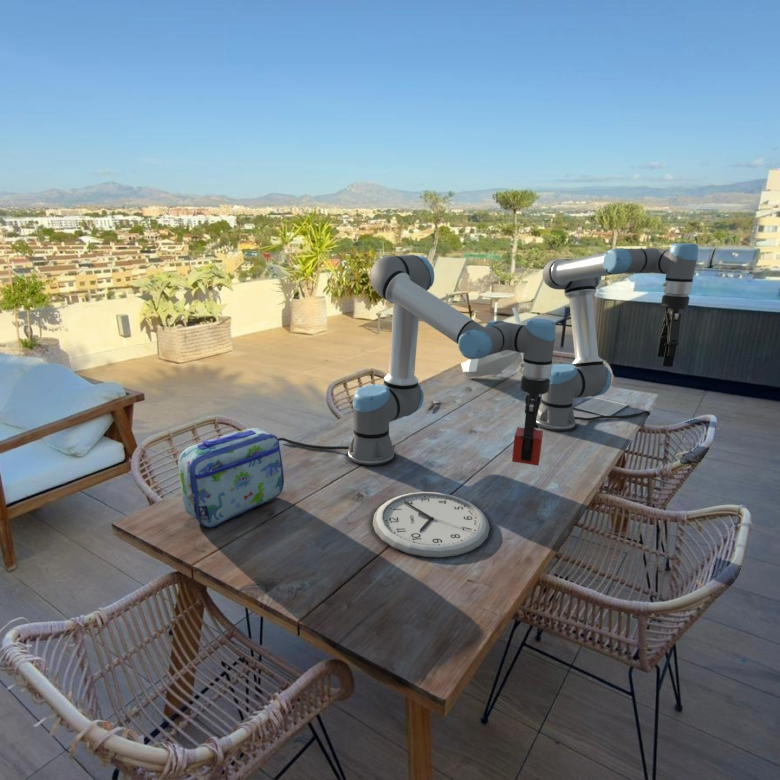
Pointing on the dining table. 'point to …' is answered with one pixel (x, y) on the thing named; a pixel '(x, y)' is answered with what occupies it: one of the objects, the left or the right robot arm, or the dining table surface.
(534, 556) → the dining table surface
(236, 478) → the lunch box
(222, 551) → the dining table surface
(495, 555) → the dining table surface
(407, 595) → the dining table surface
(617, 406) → the invitation card
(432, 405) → the fork
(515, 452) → the brick
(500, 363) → the white plastic object
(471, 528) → the wall clock
